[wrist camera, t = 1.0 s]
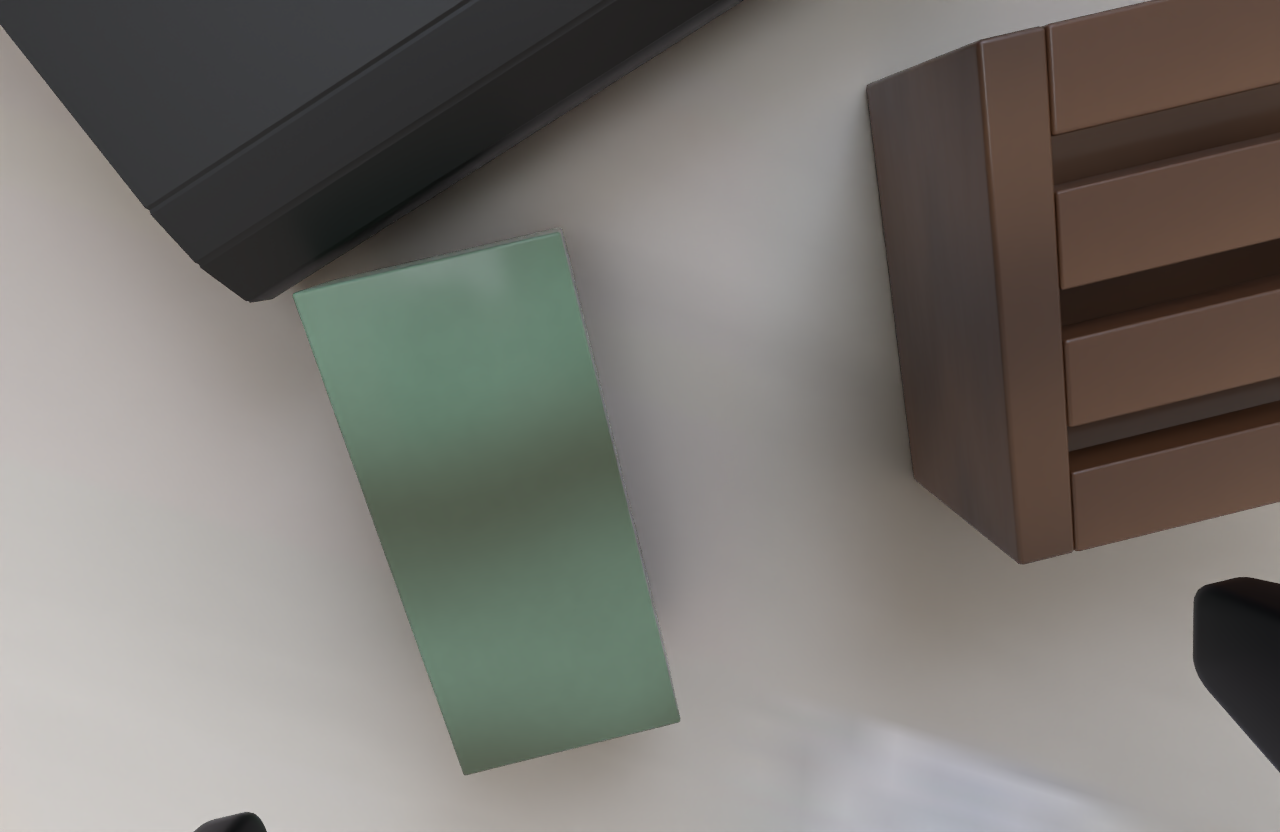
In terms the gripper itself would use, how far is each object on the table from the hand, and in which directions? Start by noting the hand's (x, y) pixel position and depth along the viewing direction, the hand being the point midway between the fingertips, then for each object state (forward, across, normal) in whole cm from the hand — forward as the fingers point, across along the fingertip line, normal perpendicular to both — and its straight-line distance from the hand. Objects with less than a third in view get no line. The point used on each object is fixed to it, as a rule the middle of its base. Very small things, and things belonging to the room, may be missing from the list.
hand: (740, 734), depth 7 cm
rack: (+12, -15, -1) cm, 19 cm away
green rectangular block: (+12, +3, +1) cm, 13 cm away
